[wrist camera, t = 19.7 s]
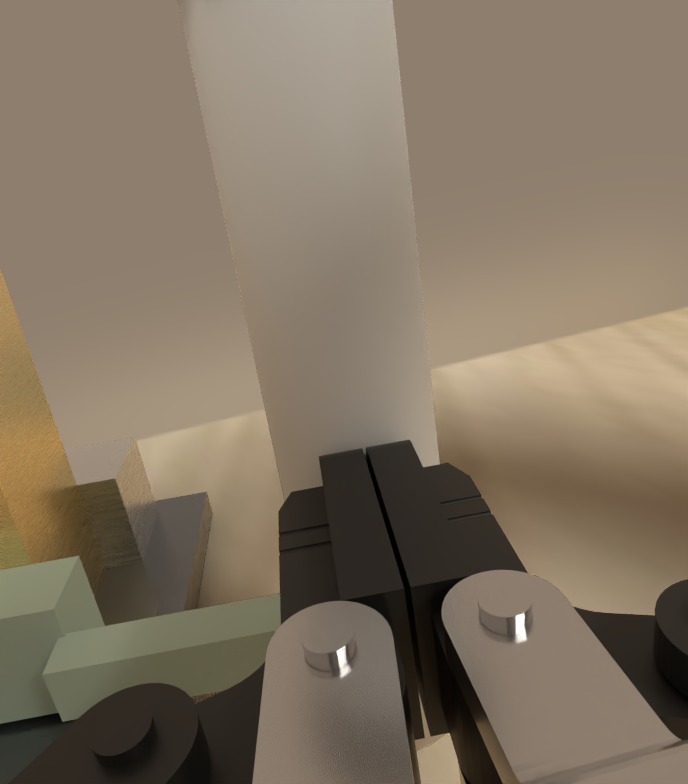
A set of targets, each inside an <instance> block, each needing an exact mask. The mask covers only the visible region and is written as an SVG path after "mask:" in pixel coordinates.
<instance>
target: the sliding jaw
mask: <svg viewBox="0 0 688 784" xmlns="http://www.w3.org/2000/svg"><path fill="white" fill-rule="evenodd" d="M178 5H179V10H180V14H181V18H182V23H183V28H184V33H185V37H186V42H187V46H188V51H189V56H190V61H191V66H192V70H193V75H194V80H195V84H196V89H197V93H198V98H199V103H200V108H201V112H202V117H203V122H204V126H205V131H206V136H207V140H208V145H209V150H210V154H211V159H212V163H213V168H214V173H215V178H216V182H217V187H218V192H219V196H220V201H221V206H222V210H223V215H224V220H225V224H226V229H227V234H228V239H229V243H230V248H231V253H232V257H233V262H234V266H235V271H236V276H237V281H238V285H239V290H240V295H241V299H242V304H243V308H244V313H245V318H246V323H247V327H248V331H249V337H250V341H251V346H252V350H253V355H254V360H255V364H256V369H257V374H258V379H259V383H260V388H261V393H262V397H263V402H264V407H265V411H266V416H267V421H268V425H269V430H270V435H271V439H272V444H273V449H274V453H275V458H276V463H277V467H278V472H279V477H280V481H281V486H282V491H283V495H284V500H285V501H286V499H287V498H288V496H289V495H290V493H291V492H293V491H298V490H304V489H309V488H315V487H320V486H323V483H322V476H321V469H320V463H319V456H322V455H327V454H333V453H338V452H344V451H349V450H355V449H360V448H362V449H363V452H364V456H365V459H366V462H367V457H366V447H370V446H376V445H381V444H387V443H392V442H398V441H403V440H410V441H411V442H412V444H413V447H414V449H415V451H416V453H417V455H418V457H419V459H420V461H421V464H422V466H423V467H428V466H433V465H439V464H440V461H439V452H438V442H437V432H436V422H435V413H434V403H433V393H432V383H431V374H430V364H429V354H428V344H427V335H426V326H425V315H424V306H423V296H422V287H421V277H420V267H419V257H418V247H417V237H416V228H415V219H414V209H413V198H412V189H411V179H410V169H409V160H408V150H407V140H406V130H405V120H404V111H403V101H402V92H401V82H400V72H399V62H398V52H397V43H396V33H395V24H394V15H393V14H394V13H393V5H392V0H178ZM367 466H368V464H367ZM280 626H281V613H280V593H279V594H273V595H268V596H263V597H257V598H252V599H247V600H241V601H236V602H231V603H225V604H220V605H215V606H209V607H204V608H199V609H193V610H188V611H183V612H177V613H172V614H167V615H161V616H156V617H151V618H146V619H140V620H135V621H130V622H124V623H119V624H114V625H108V626H105V624H104V622H103V619H102V616H101V614H100V611H99V608H98V606H97V603H96V600H95V597H94V595H93V592H92V589H91V587H90V584H89V581H88V579H87V576H86V573H85V571H84V568H83V565H82V563H81V560H80V557H79V556H75V557H69V558H64V559H58V560H53V561H47V562H42V563H36V564H31V565H25V566H20V567H15V568H9V569H4V570H0V724H2V723H7V722H12V721H17V720H23V719H28V718H33V717H38V716H43V715H49V714H54V713H59V715H60V717H61V719H62V722H64V721H69V720H75V719H78V718H79V717H80V716H81V715H83V714H84V713H85V712H86V711H87V710H89V709H90V708H91V707H92V706H94V705H95V704H97V703H98V702H100V701H101V700H103V699H104V698H106V697H108V696H110V695H112V694H114V693H116V692H118V691H121V690H123V689H125V688H129V687H132V686H136V685H140V684H146V683H163V684H170V685H172V686H175V687H178V688H180V689H181V690H183V691H185V692H186V693H187V694H188V695H189V696H190V697H194V696H199V695H204V694H209V693H214V692H220V691H224V690H227V689H229V688H231V687H232V686H234V685H236V684H238V683H240V682H241V681H243V680H244V679H246V678H247V677H249V676H250V675H251V674H252V673H254V672H255V671H256V670H257V669H258V668H259V667H260V666H261V665H262V664H263V663H264V662H265V660H266V653H267V648H268V645H269V642H270V640H271V638H272V636H273V635H274V633H275V632H276V630H277V629H278V628H279V627H280ZM419 699H420V695H419ZM420 706H421V714H422V721H423V728H424V735H425V738H423V739H418V740H415V746H416V751H417V750H420V749H422V748H425V747H427V746H429V745H431V744H432V743H434V742H436V741H437V740H438V739H440V738H441V737H443V736H444V735H445V734H441V735H436V736H430V733H429V729H428V725H427V721H426V718H425V714H424V710H423V707H422V703H421V699H420Z"/></svg>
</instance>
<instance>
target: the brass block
mask: <svg viewBox="0 0 688 784" xmlns="http://www.w3.org/2000/svg"><path fill="white" fill-rule="evenodd" d="M75 556H79V557H80V560H81V563H82V565H83V568H84V571H85V573H86V576H87V579H88V581H89V584H90V587H91V589H92V592H93V595H94V597H95V596H96V593H97V590H98V588H99V585H100V583H101V580H102V578H103V575H104V573H105V570H106V566H105V563H104V560H103V557H102V554H101V552H100V549H99V546H98V543H97V540H96V537H95V535H94V532H93V529H92V526H91V523H90V520H89V518H88V515H87V512H86V509H85V506H84V504H83V501H82V498H81V495H80V492H79V489H78V487H77V484H76V481H75V478H74V475H73V472H72V470H71V467H70V464H69V461H68V458H67V455H66V453H65V450H64V447H63V444H62V442H61V439H60V436H59V433H58V430H57V427H56V425H55V422H54V419H53V416H52V413H51V410H50V407H49V405H48V402H47V399H46V396H45V394H44V391H43V388H42V385H41V382H40V379H39V377H38V374H37V371H36V368H35V365H34V362H33V360H32V357H31V354H30V351H29V348H28V345H27V343H26V340H25V337H24V334H23V331H22V328H21V326H20V323H19V320H18V317H17V314H16V311H15V309H14V306H13V303H12V300H11V297H10V294H9V292H8V289H7V286H6V283H5V280H4V278H3V275H2V272H1V269H0V570H4V569H9V568H15V567H20V566H25V565H31V564H36V563H42V562H47V561H53V560H58V559H64V558H69V557H75Z"/></svg>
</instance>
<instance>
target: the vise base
mask: <svg viewBox="0 0 688 784" xmlns="http://www.w3.org/2000/svg"><path fill="white" fill-rule="evenodd" d="M64 450H65V453H66V455H67V458H68V461H69V464H70V467H71V470H72V472H73V475H74V478H75V481H76V484H77V487H78V489H79V492H80V495H81V498H82V501H83V504H84V506H85V509H86V512H87V515H88V518H89V520H90V523H91V526H92V529H93V532H94V535H95V537H96V540H97V543H98V546H99V549H100V552H101V554H102V557H103V560H104V563H105V566H106V570H105V573H104V575H103V578H102V580H101V583H100V585H99V588H98V590H97V593H96V596H95V600H96V603H97V606H98V608H99V611H100V614H101V616H102V619H103V622H104V624H105V626H108V625H114V624H119V623H124V622H130V621H135V620H140V619H146V618H151V617H156V616H161V615H167V614H172V613H177V612H183V611H188V610H193V609H196V608H197V602H198V596H199V590H200V584H201V578H202V572H203V566H204V560H205V555H206V549H207V543H208V537H209V531H210V525H211V519H212V510H211V506H210V503H209V499H208V495H207V492H203V493H198V494H192V495H187V496H181V497H176V498H170V499H165V500H159V501H154V498H153V494H152V491H151V488H150V485H149V481H148V478H147V475H146V472H145V468H144V465H143V462H142V458H141V455H140V452H139V449H138V445H137V442H136V439H135V437H133V438H127V439H121V440H115V441H109V442H104V443H98V444H93V445H87V446H82V447H75V448H70V449H64ZM76 720H77V719H75V720H69V721H64V722H62V719H61V717H60V715H59V713H54V714H49V715H43V716H38V717H33V718H28V719H23V720H17V721H12V722H7V723H2V724H0V784H8V783H10V782H11V781H12V780H13V779H14V778H15V777H16V776H17V775H18V774H19V773H20V772H21V771H22V770H24V769H25V768H26V767H27V766H28V765H29V764H30V763H31V762H32V761H33V760H34V759H35V758H36V757H37V756H39V755H40V754H41V753H42V752H43V751H44V750H45V749H46V748H47V747H48V746H49V745H50V744H51V743H52V742H54V741H55V740H56V739H57V738H58V737H59V736H60V735H61V734H62V733H63V732H64V731H65V730H66V729H68V728H69V727H70V726H71V725H72V724H73V723H74V722H75V721H76Z"/></svg>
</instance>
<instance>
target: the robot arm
mask: <svg viewBox="0 0 688 784" xmlns="http://www.w3.org/2000/svg"><path fill="white" fill-rule="evenodd" d="M366 457H367V462H366V459H365V456H364V452H363V449H362V448H360V449H355V450H349V451H344V452H338V453H333V454H327V455H322V456H319V463H320V469H321V476H322V483H323V486H320V487H315V488H309V489H304V490H298V491H293V492H291V493H290V495H289V496H288V498H287V499H286V501H285V502H284V504H283V506H282V507H281V509H280V510H279V536H280V537H279V552H280V555H279V562H280V613H281V626H280V627H279V628H278V629H277V630H276V632H275V633H274V635H273V636H272V638H271V640H270V642H269V645H268V648H267V653H266V660H265V662H264V663H263V664H262V665H261V666H260V667H259V668H258V669H257V670H256V671H255V672H254V673H252V674H251V675H250V676H249V677H247V678H246V679H244V680H243V681H241V682H240V683H238V684H236V685H234V686H232V687H231V688H229V689H227V690H224V691H222V692H220V693H218V694H216V695H214V696H212V697H210V698H208V699H206V700H204V701H201V702H199V703H197V704H194V702H193V700H192V698H191V697H190V696H189V695H188V694H187V693H186V692H185V691H183V690H181V689H180V688H178V687H175V686H172V685H170V684H163V683H146V684H140V685H136V686H132V687H129V688H125V689H123V690H121V691H118V692H116V693H114V694H112V695H110V696H108V697H106V698H104V699H103V700H101V701H100V702H98V703H97V704H95V705H94V706H92V707H91V708H90V709H89V710H87V711H86V712H85V713H84V714H83V715H81V716H80V717H79V718H78V719H77V720H76V721H75V722H74V723H73V724H72V725H71V726H70V727H69V728H68V729H66V730H65V731H64V732H63V733H62V734H61V735H60V736H59V737H58V738H57V739H56V740H55V741H54V742H52V743H51V744H50V745H49V746H48V747H47V748H46V749H45V750H44V751H43V752H42V753H41V754H40V755H39V756H37V757H36V758H35V759H34V760H33V761H32V762H31V763H30V764H29V765H28V766H27V767H26V768H25V769H24V770H22V771H21V772H20V773H19V774H18V775H17V776H16V777H15V778H14V779H13V780H12V781H11V782H10V783H8V784H421V781H420V774H419V767H418V760H417V753H416V746H415V740H418V739H423V738H425V735H424V728H423V721H422V714H421V706H420V699H421V703H422V707H423V710H424V714H425V718H426V721H427V725H428V729H429V733H430V736H436V735H441V734H446V733H450V735H451V738H452V742H453V745H454V748H455V752H456V755H457V758H458V764H459V773H460V782H461V784H688V579H687V580H683V581H680V582H678V583H675V584H673V585H671V586H670V587H668V588H667V589H665V590H664V592H663V593H662V594H661V595H660V596H659V598H658V600H657V602H656V607H655V616H653V615H633V614H614V613H601V612H593V611H588V610H583V609H579V608H576V607H573V606H572V605H571V604H570V602H569V601H568V600H567V598H566V597H565V596H564V595H563V594H562V593H561V592H560V591H559V589H557V588H556V587H555V586H553V585H552V584H551V583H549V582H547V581H546V580H544V579H542V578H540V577H537V576H535V575H532V574H528V573H527V571H526V569H525V568H524V566H523V564H522V563H521V561H520V559H519V558H518V556H517V554H516V553H515V551H514V549H513V548H512V546H511V544H510V543H509V541H508V539H507V538H506V536H505V534H504V533H503V531H502V529H501V528H500V526H499V524H498V523H497V521H496V519H495V517H494V516H493V515H491V512H490V509H489V507H488V506H487V504H486V502H485V501H484V499H482V498H481V494H480V492H479V491H478V489H477V487H476V486H475V484H474V482H473V481H472V479H471V477H470V476H469V475H467V474H465V473H464V472H462V471H460V470H459V469H457V468H455V467H454V466H452V465H450V464H449V463H444V464H439V465H433V466H428V467H423V466H422V464H421V461H420V459H419V457H418V455H417V453H416V451H415V449H414V447H413V444H412V442H411V441H410V440H403V441H398V442H392V443H387V444H381V445H376V446H370V447H366ZM367 464H368V466H367ZM419 695H420V699H419Z"/></svg>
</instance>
